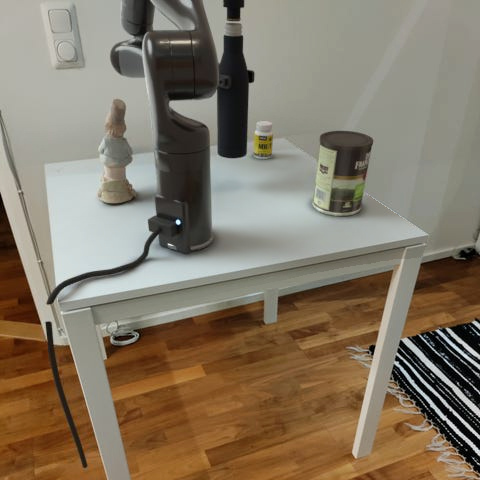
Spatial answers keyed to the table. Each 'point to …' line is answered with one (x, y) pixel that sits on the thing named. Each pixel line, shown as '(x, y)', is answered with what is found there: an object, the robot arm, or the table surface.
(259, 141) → the supplement bottle
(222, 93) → the dark blue water bottle
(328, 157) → the coffee can
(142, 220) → the table surface
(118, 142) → the figurine
